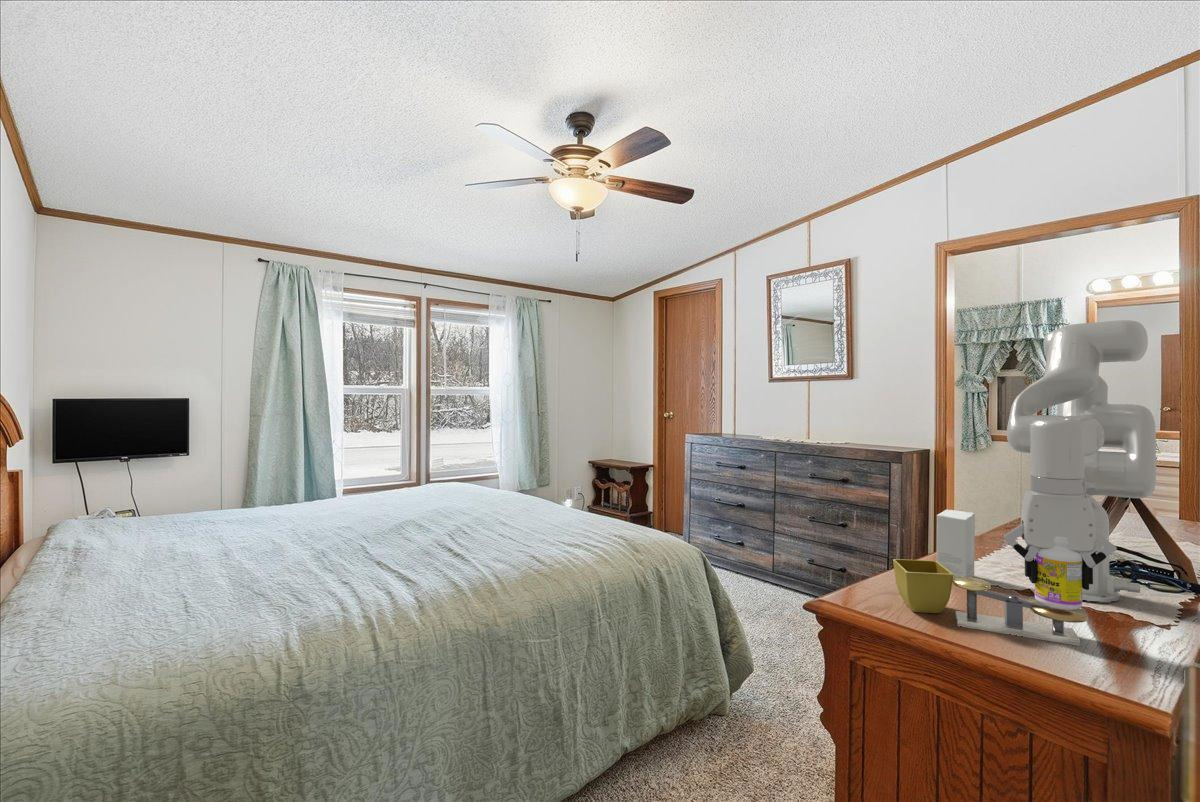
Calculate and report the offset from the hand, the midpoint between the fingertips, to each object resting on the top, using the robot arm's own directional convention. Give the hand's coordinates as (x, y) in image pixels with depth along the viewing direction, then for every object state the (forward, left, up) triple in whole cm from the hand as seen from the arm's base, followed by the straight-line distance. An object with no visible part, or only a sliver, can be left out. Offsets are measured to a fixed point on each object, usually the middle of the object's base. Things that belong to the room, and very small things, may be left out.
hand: (1057, 583), depth 99 cm
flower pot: (+21, -4, -10) cm, 24 cm away
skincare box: (+14, -30, -10) cm, 34 cm away
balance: (+7, 0, -10) cm, 12 cm away
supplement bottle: (0, 0, -4) cm, 4 cm away
